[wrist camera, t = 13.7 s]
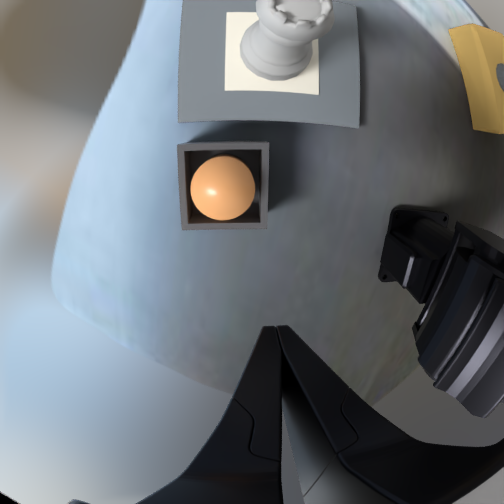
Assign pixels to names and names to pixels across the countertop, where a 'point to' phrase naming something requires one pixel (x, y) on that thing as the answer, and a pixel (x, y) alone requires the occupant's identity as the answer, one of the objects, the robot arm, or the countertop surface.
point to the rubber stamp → (482, 74)
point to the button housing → (198, 154)
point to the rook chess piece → (284, 36)
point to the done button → (223, 187)
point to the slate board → (257, 88)
